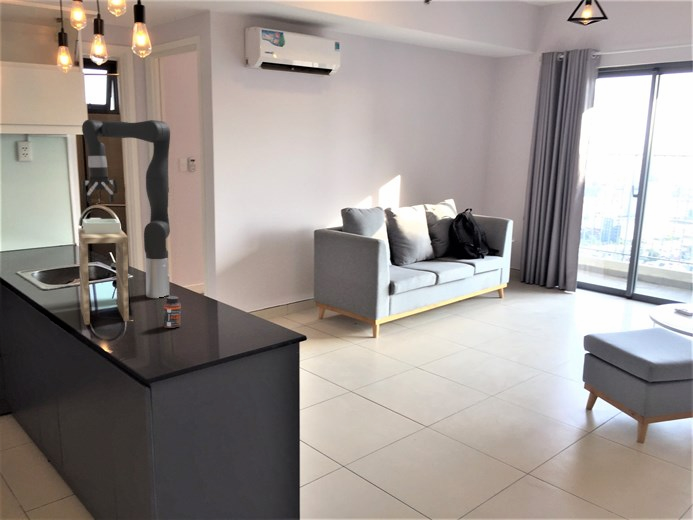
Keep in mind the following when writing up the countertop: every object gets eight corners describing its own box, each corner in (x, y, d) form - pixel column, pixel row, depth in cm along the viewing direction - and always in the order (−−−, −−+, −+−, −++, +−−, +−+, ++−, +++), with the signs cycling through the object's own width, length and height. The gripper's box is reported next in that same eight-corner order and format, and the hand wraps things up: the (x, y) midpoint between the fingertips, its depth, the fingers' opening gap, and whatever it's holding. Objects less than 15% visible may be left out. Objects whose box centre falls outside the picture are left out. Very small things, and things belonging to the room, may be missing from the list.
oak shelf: (120, 305, 237) (119, 228, 231) (129, 321, 216) (127, 237, 210) (80, 308, 230) (78, 228, 224) (85, 325, 209) (82, 237, 203)
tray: (110, 222, 245) (110, 213, 244) (120, 233, 217) (120, 222, 217) (79, 222, 239) (79, 213, 239) (85, 234, 212) (84, 223, 211)
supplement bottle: (171, 330, 209) (171, 300, 207) (160, 327, 212) (160, 297, 210) (184, 326, 214) (184, 297, 212) (172, 323, 217) (173, 294, 215)
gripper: (80, 166, 249) (83, 204, 251) (116, 166, 255) (118, 203, 257) (79, 166, 255) (83, 203, 258) (114, 166, 261) (117, 202, 264)
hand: (101, 203), depth 258 cm, fingers open, 8 cm apart
